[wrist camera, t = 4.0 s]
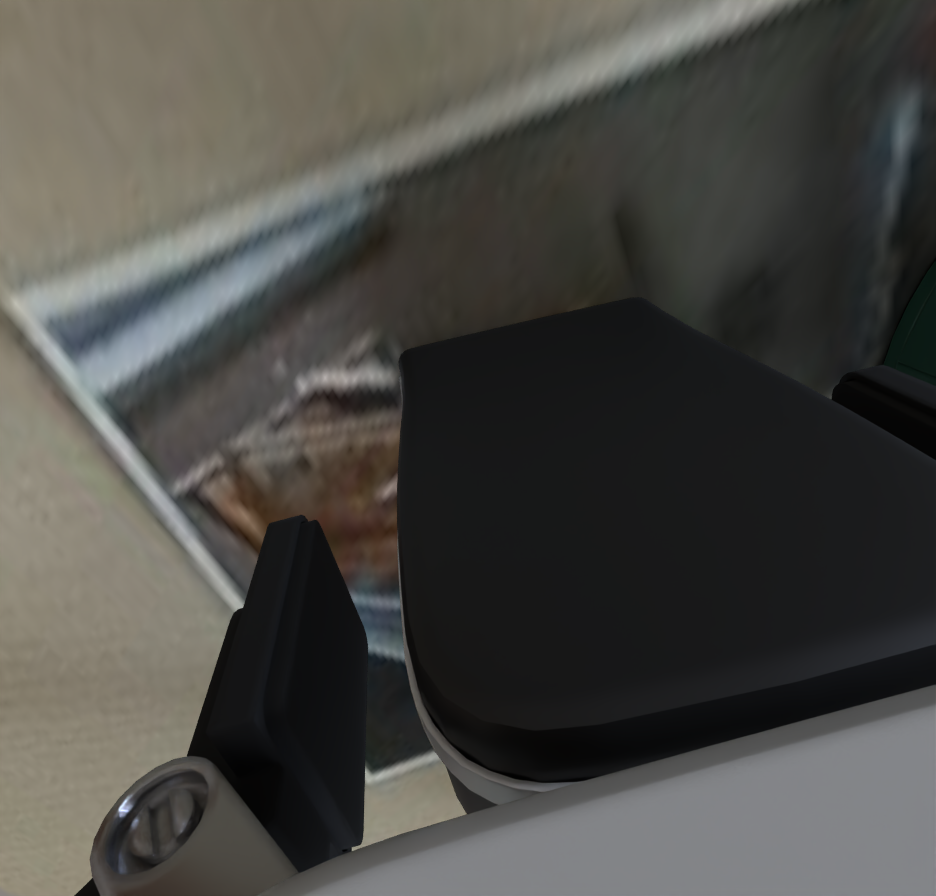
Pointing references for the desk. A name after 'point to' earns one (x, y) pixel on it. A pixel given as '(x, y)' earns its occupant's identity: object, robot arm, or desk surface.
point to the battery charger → (643, 549)
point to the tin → (917, 334)
